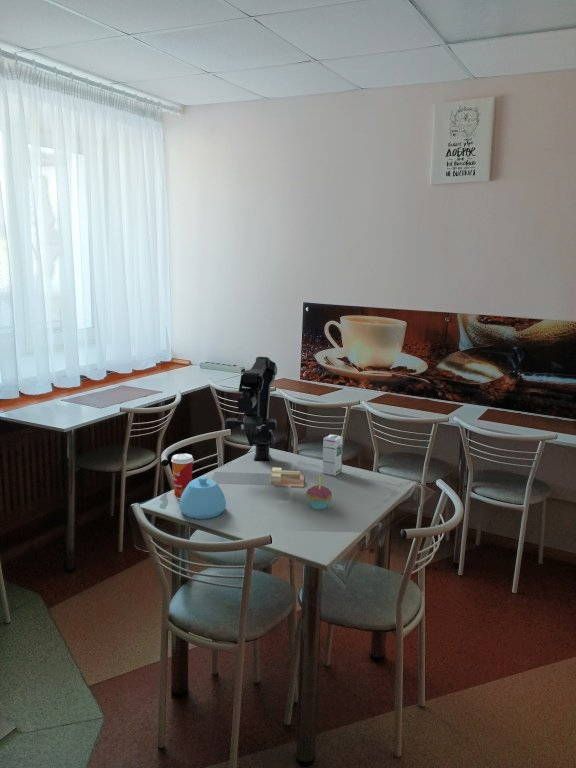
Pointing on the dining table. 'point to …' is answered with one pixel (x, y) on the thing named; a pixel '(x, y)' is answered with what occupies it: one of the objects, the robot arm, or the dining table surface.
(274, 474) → the t block
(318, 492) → the cupcake
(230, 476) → the push board
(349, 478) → the dining table surface
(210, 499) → the blue dome lid
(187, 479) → the paper cup
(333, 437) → the syrup box
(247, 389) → the robot arm
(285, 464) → the dining table surface
